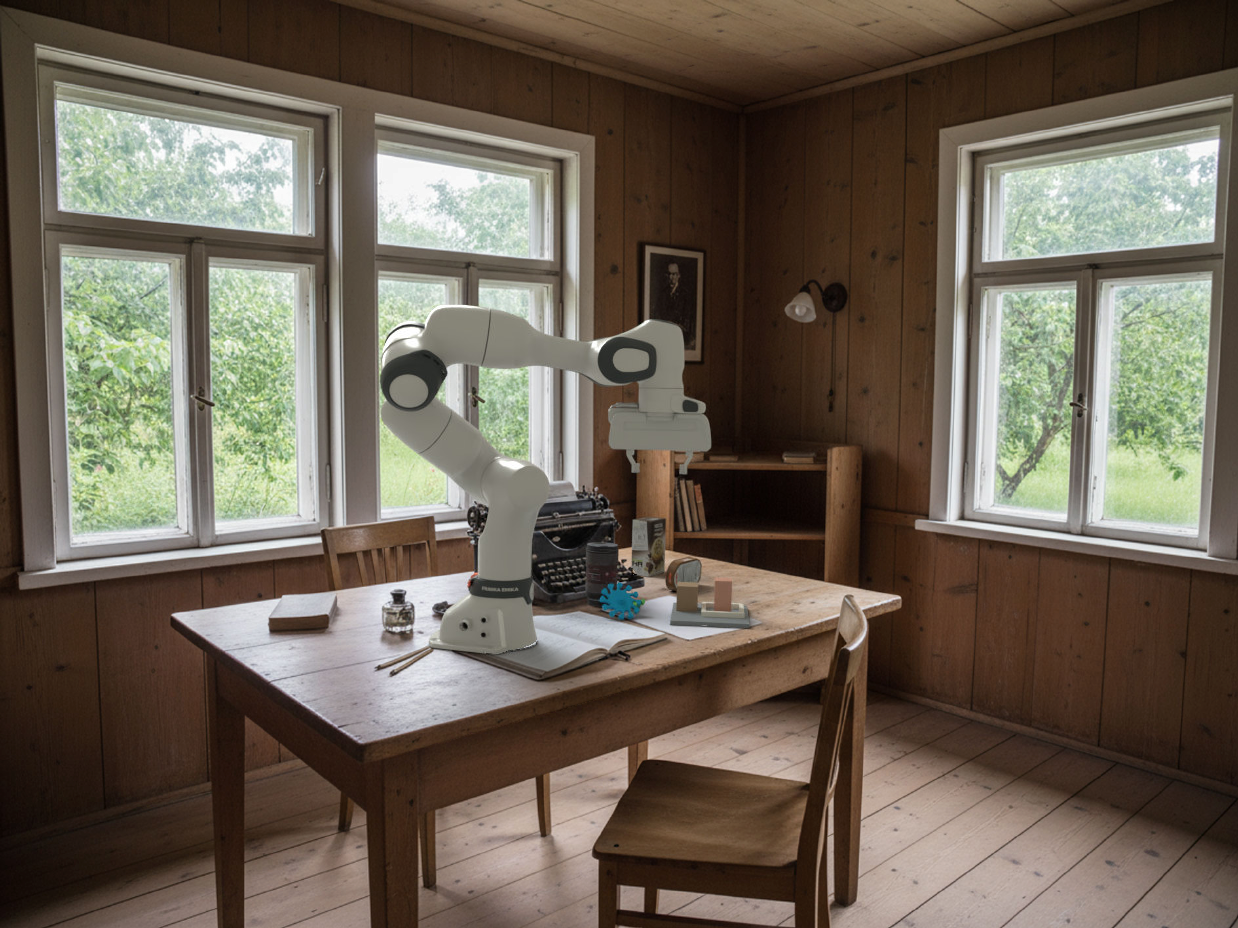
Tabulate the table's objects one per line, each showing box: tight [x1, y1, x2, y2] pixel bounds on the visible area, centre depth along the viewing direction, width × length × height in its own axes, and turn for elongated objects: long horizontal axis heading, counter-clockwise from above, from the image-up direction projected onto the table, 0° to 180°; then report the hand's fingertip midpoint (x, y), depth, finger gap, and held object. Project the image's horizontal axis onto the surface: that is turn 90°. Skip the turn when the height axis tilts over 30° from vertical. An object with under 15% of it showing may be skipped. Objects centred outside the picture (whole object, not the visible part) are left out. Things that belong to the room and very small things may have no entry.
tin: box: [664, 556, 703, 592], centre depth 252 cm, size 15×3×8 cm, turn 144°
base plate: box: [669, 582, 751, 629], centre depth 221 cm, size 18×18×7 cm
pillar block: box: [713, 577, 733, 612], centre depth 222 cm, size 4×4×8 cm
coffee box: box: [630, 516, 667, 578], centre depth 271 cm, size 9×6×16 cm
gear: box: [600, 581, 646, 621], centre depth 222 cm, size 11×6×10 cm
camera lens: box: [584, 541, 620, 607], centre depth 233 cm, size 8×8×15 cm
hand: (659, 473), depth 185 cm, fingers open, 8 cm apart
